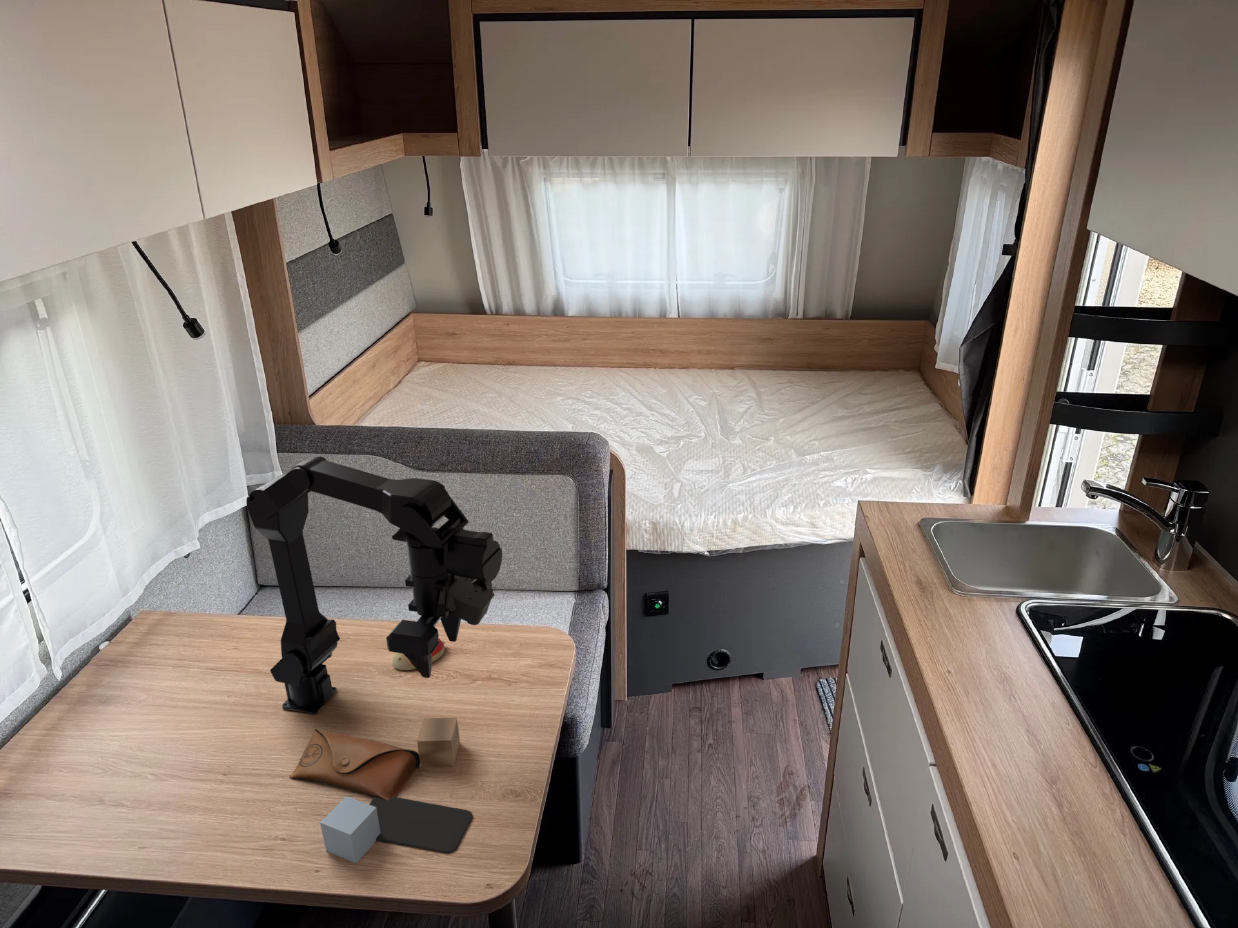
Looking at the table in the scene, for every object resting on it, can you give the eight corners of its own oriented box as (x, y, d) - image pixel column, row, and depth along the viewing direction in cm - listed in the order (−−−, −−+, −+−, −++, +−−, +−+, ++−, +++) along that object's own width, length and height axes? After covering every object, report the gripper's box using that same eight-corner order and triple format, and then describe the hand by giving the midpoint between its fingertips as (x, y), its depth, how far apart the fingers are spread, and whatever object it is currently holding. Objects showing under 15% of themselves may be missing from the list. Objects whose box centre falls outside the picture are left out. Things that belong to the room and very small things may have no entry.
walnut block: (420, 767, 126) (416, 740, 124) (427, 744, 130) (423, 718, 128) (454, 766, 126) (451, 740, 124) (460, 743, 130) (456, 717, 128)
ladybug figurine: (385, 661, 150) (382, 645, 149) (434, 639, 156) (432, 623, 155) (404, 678, 146) (401, 661, 144) (453, 655, 152) (451, 638, 150)
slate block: (326, 851, 112) (320, 822, 110) (352, 823, 116) (346, 795, 114) (355, 863, 110) (350, 834, 108) (381, 835, 114) (376, 807, 112)
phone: (453, 853, 111) (349, 833, 114) (453, 858, 111) (350, 838, 114) (475, 810, 117) (376, 792, 120) (475, 815, 118) (377, 797, 121)
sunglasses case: (283, 778, 124) (291, 731, 125) (312, 769, 130) (320, 724, 131) (392, 803, 119) (400, 754, 120) (417, 792, 126) (424, 746, 126)
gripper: (455, 609, 111) (465, 706, 117) (506, 543, 128) (512, 630, 134) (378, 599, 113) (391, 694, 120) (438, 535, 130) (447, 621, 136)
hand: (440, 658), depth 127 cm, fingers open, 9 cm apart
